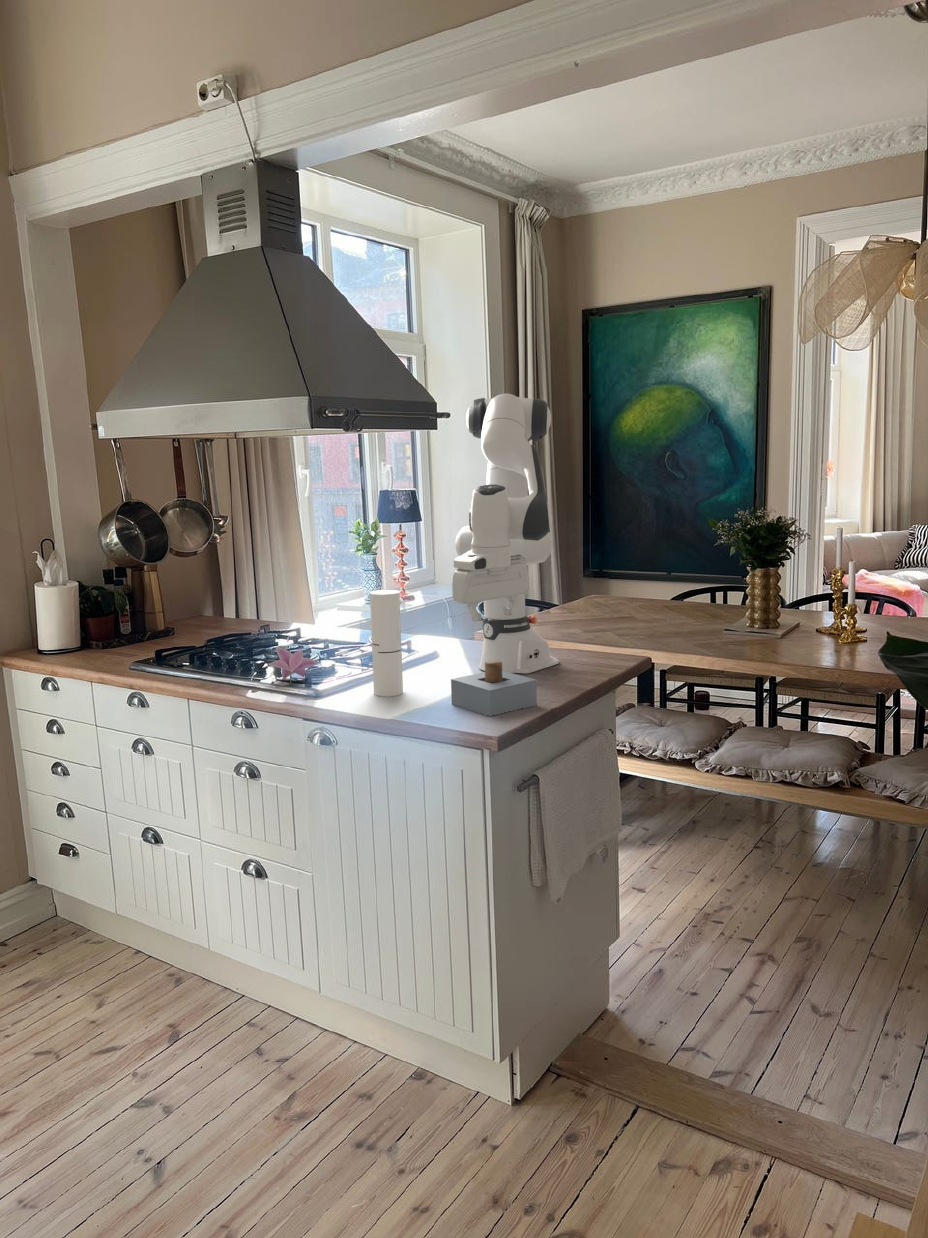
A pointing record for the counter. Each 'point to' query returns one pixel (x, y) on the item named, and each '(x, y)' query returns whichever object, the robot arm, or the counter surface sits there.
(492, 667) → the walnut peg
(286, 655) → the lily
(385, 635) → the cylindrical container
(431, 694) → the counter surface
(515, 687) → the socket block
